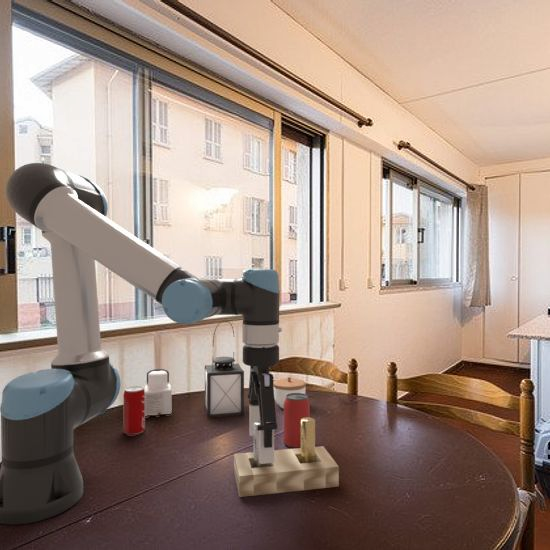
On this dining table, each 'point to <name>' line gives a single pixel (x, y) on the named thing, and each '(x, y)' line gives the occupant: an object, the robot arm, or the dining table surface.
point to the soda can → (134, 410)
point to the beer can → (294, 417)
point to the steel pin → (256, 446)
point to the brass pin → (307, 440)
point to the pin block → (285, 473)
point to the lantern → (224, 387)
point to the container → (158, 393)
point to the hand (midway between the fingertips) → (260, 447)
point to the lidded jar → (287, 388)
